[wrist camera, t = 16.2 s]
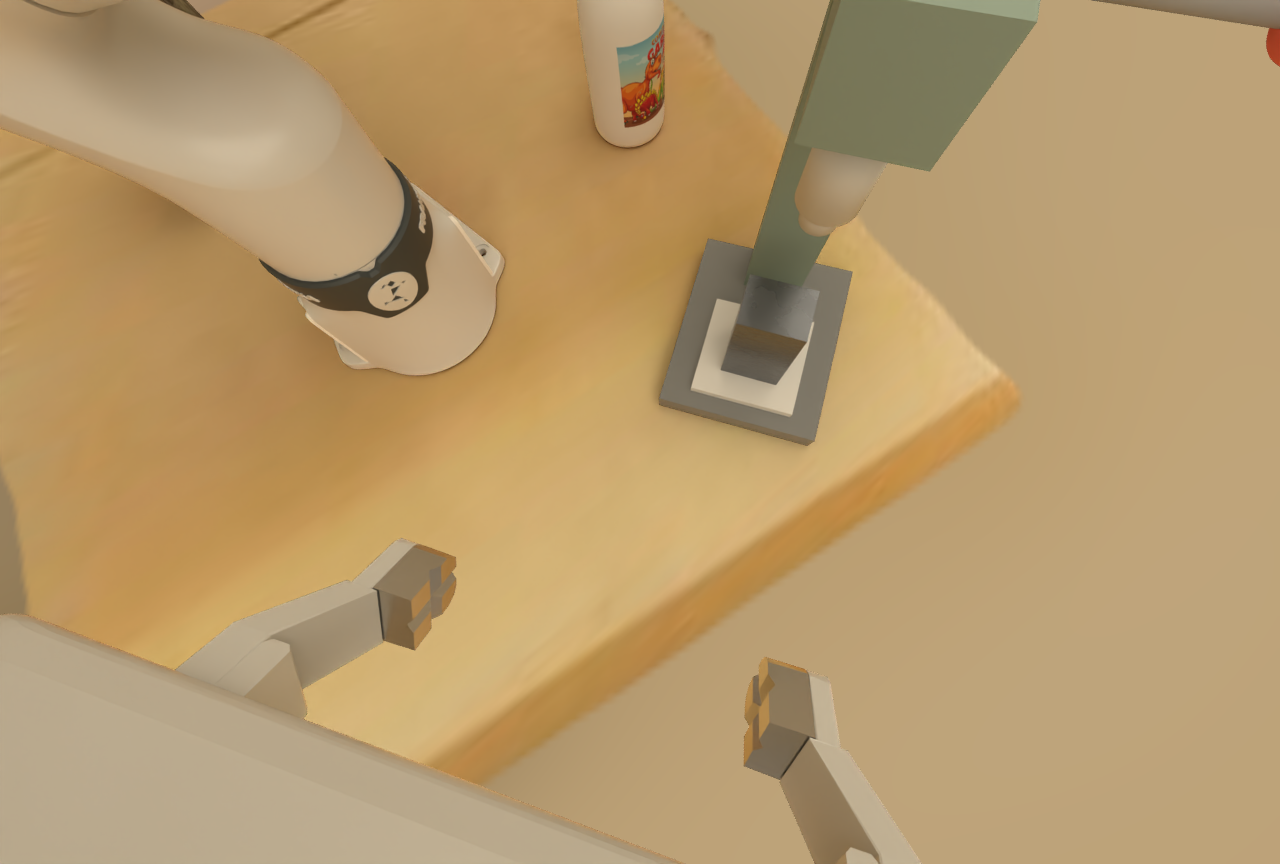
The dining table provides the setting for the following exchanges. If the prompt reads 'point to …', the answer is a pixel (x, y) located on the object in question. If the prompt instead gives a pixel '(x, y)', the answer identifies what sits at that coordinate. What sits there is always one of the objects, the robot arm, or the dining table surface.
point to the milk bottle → (624, 67)
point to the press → (858, 177)
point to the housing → (769, 329)
